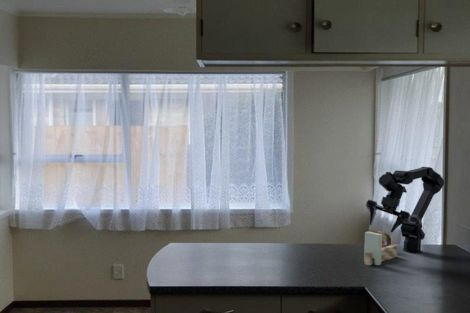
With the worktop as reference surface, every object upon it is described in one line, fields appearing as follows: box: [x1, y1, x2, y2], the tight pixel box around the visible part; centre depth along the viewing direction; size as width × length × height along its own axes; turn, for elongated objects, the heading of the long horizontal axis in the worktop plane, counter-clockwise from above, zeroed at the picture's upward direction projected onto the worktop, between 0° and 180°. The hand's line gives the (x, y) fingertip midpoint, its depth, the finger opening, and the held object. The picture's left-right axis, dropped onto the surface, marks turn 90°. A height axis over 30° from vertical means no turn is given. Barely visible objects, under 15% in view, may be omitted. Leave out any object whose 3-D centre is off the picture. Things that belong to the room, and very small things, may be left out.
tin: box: [366, 229, 392, 248], centre depth 232 cm, size 15×3×8 cm, turn 25°
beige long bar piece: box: [364, 244, 398, 266], centre depth 212 cm, size 22×2×5 cm, turn 132°
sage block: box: [363, 231, 382, 266], centre depth 207 cm, size 2×6×12 cm, turn 42°
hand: (380, 228), depth 214 cm, fingers open, 9 cm apart
